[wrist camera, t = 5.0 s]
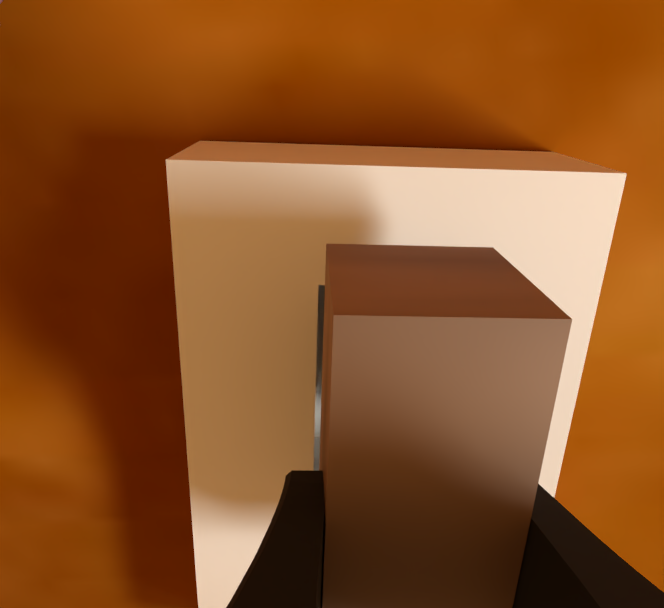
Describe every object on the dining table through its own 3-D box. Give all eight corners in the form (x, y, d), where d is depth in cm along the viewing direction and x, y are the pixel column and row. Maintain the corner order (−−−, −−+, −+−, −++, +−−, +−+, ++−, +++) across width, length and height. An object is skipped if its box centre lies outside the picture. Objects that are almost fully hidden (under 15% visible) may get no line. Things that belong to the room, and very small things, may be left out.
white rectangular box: (473, 610, 23) (505, 714, 19) (223, 612, 22) (206, 719, 19) (553, 151, 16) (626, 173, 12) (199, 140, 16) (165, 159, 12)
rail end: (420, 510, 17) (483, 749, 11) (314, 509, 17) (316, 752, 11) (455, 213, 14) (572, 319, 8) (322, 209, 13) (333, 314, 7)
